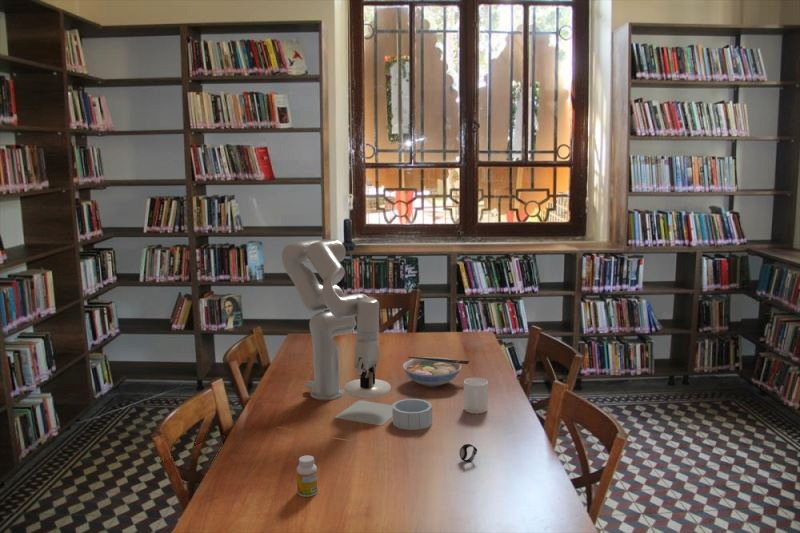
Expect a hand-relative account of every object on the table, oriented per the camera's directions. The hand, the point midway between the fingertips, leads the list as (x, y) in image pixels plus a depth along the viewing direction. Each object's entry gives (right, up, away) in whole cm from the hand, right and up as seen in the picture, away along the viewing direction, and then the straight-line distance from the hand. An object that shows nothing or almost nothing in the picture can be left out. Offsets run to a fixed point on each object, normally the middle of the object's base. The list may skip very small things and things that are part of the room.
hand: (367, 385), depth 243 cm
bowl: (+15, -11, -8) cm, 21 cm away
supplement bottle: (-14, -20, -54) cm, 59 cm away
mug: (+37, -10, +1) cm, 39 cm away
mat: (+1, -10, +1) cm, 10 cm away
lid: (0, -1, 0) cm, 1 cm away
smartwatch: (+31, -16, -37) cm, 51 cm away
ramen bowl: (+24, -5, +31) cm, 39 cm away
